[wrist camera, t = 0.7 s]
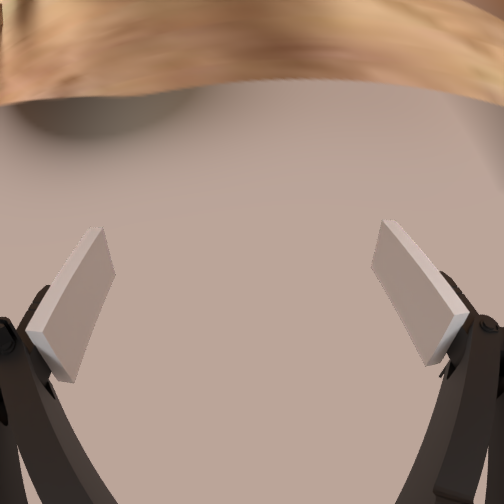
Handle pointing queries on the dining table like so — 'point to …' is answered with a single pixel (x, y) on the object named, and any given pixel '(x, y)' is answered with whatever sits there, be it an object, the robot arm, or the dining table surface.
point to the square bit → (0, 18)
